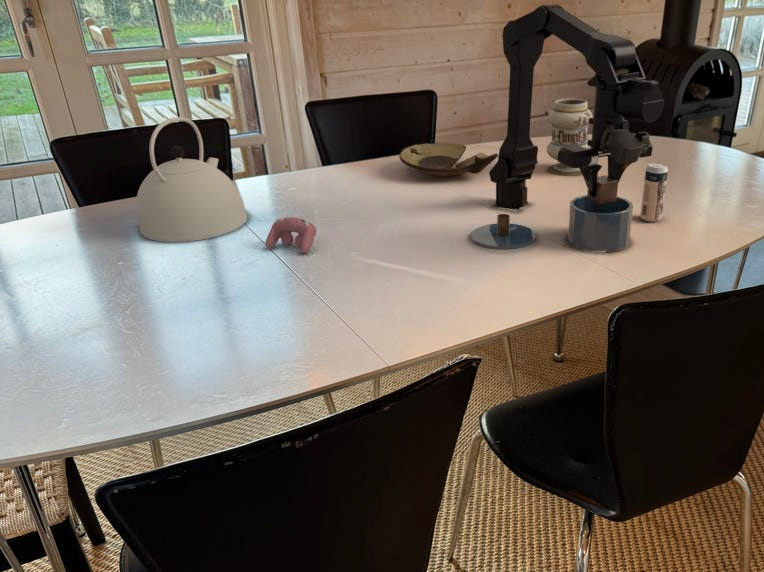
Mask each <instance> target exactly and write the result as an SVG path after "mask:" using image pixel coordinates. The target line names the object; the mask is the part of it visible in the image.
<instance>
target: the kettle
mask: <svg viewBox="0 0 764 572" xmlns="http://www.w3.org/2000/svg"><path fill="white" fill-rule="evenodd" d="M177 122H185V123H187V124H189V125H190V126H191V127H192V128H193V130H194V132H195V134H196V138H197V141H198V148H199V154H198V155H199V157H198V159H194V158H183V157H184V155H185V149H184V148H183V147H182V146H180V145H176V144H175V145H173V146H171V148H170V154H171V156H172V157H173V158H175V159H172V160H169V161H165V162H163V163H161V164H159V165H157V163H156V158H155V157H156V156H155V142H156V139H157V137H158V134H159V132H160V131H161V130H162V129H163V128H164V127H165V126H167V125H170V124H173V123H177ZM149 159H150V163H151V164H150V165H151V167H152V169H153V170H151V171H150V172H149V173H148V175H147V176H146V177H145V178H144V179H143V181H142V182H141V184H140V186H139V189H138V191H137V195H136V198H135V200H136V201H135V213H136V221H137V223H138V227H139V232H140V233H139V234H141V236H142V237H144V238H145V239H149V240H152V241H156V242H162V243H163V242H164V243H182V242H183V243H186V242H195V241H201V240H206V239H212V238H216V237H219V236H222V235H223V236H224V235H225V234H228V233H231V232H233V231H235V230H237V229H239V228H241V227H242V226H243V225H245V224H246V222H247V221H248V215H247V211H246V207H245V204H244V200H243V198H242V194H241V193H240V190H239V188H238V187H237V186H236V184H235V183H234V182H233V180H232V179H231V178H230V177H229V176H228V175H227V174H226V173H224V172H223V171H221V170H220V169H219V168H218V164H219V158H216V157H208V158H207V160H206V161H204V142H203V137H202V135H201V132H200V130H199V128H198V126H197V125H196V124H195V122H194V121H192V120H191V119H190V118H187V117H183V116H177V117H171V118H168V119H166V120H163V121H161V122H160V123H159V124H158V125H157V126H156V127H155V129H154V130H153V132H152V134H151V137H150V140H149Z"/></svg>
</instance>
